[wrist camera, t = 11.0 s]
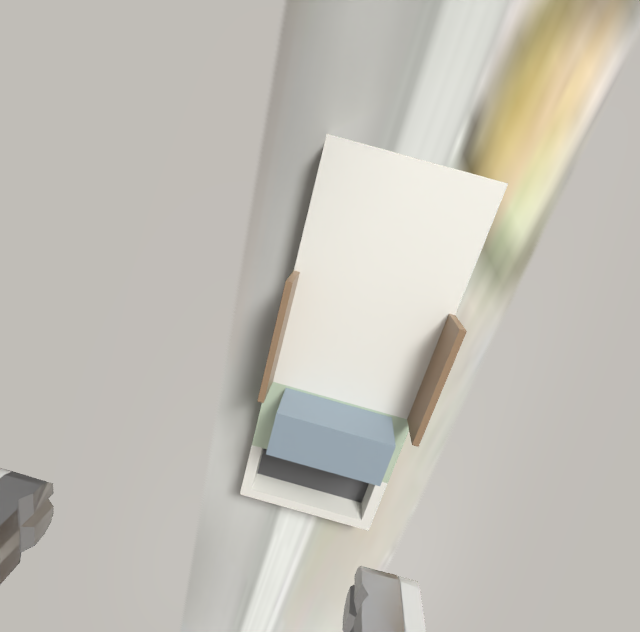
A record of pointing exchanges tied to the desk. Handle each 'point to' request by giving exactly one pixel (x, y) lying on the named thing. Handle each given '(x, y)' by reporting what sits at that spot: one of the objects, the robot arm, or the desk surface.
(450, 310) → the tunnel deck
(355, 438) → the slate bar
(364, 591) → the robot arm
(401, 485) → the desk surface
